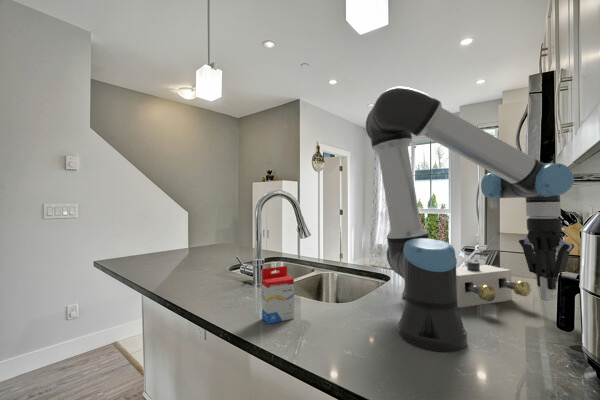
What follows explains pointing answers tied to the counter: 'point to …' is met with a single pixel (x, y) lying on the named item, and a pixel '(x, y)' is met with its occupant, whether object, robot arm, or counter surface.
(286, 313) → the ink box
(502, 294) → the console
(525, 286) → the knob right
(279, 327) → the counter surface
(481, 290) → the knob left
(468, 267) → the dial
